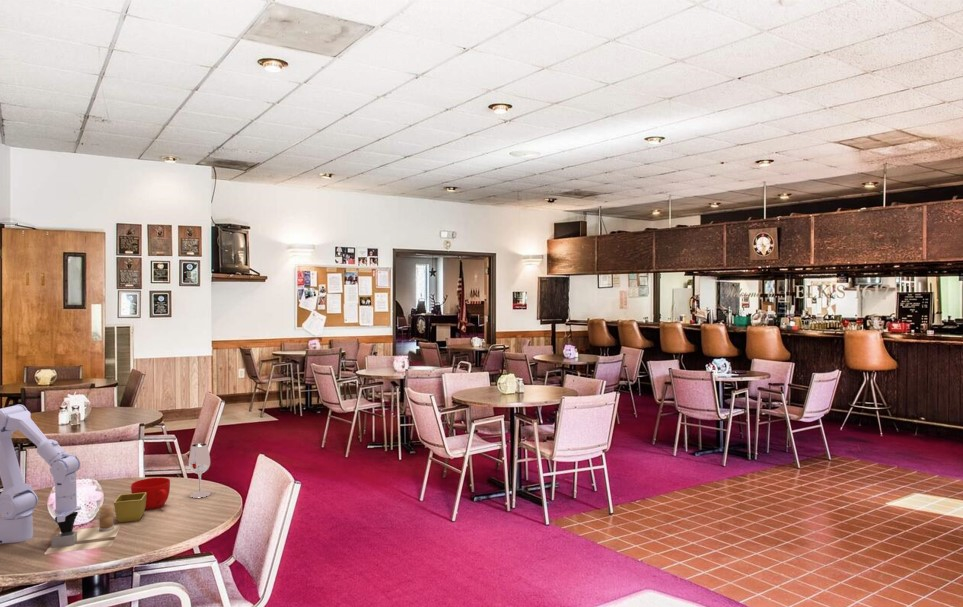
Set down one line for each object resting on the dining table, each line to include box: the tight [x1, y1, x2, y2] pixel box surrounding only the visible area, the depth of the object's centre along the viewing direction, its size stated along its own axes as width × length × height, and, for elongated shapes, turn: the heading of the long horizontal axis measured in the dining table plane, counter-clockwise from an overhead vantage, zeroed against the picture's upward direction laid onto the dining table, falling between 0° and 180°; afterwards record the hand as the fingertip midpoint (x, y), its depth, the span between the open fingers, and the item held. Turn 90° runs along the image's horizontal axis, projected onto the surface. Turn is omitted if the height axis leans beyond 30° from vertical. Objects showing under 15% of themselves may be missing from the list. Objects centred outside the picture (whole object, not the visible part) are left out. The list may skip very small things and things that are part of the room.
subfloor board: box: [43, 524, 122, 555], centre depth 215 cm, size 18×20×2 cm
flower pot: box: [113, 492, 147, 523], centre depth 234 cm, size 9×9×9 cm
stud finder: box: [51, 531, 77, 548], centre depth 211 cm, size 6×4×3 cm, turn 110°
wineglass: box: [188, 442, 211, 499], centre depth 263 cm, size 8×8×20 cm
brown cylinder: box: [98, 504, 115, 532], centre depth 223 cm, size 4×4×8 cm
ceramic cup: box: [130, 477, 171, 510], centre depth 246 cm, size 13×17×10 cm
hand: (67, 537), depth 214 cm, fingers closed
